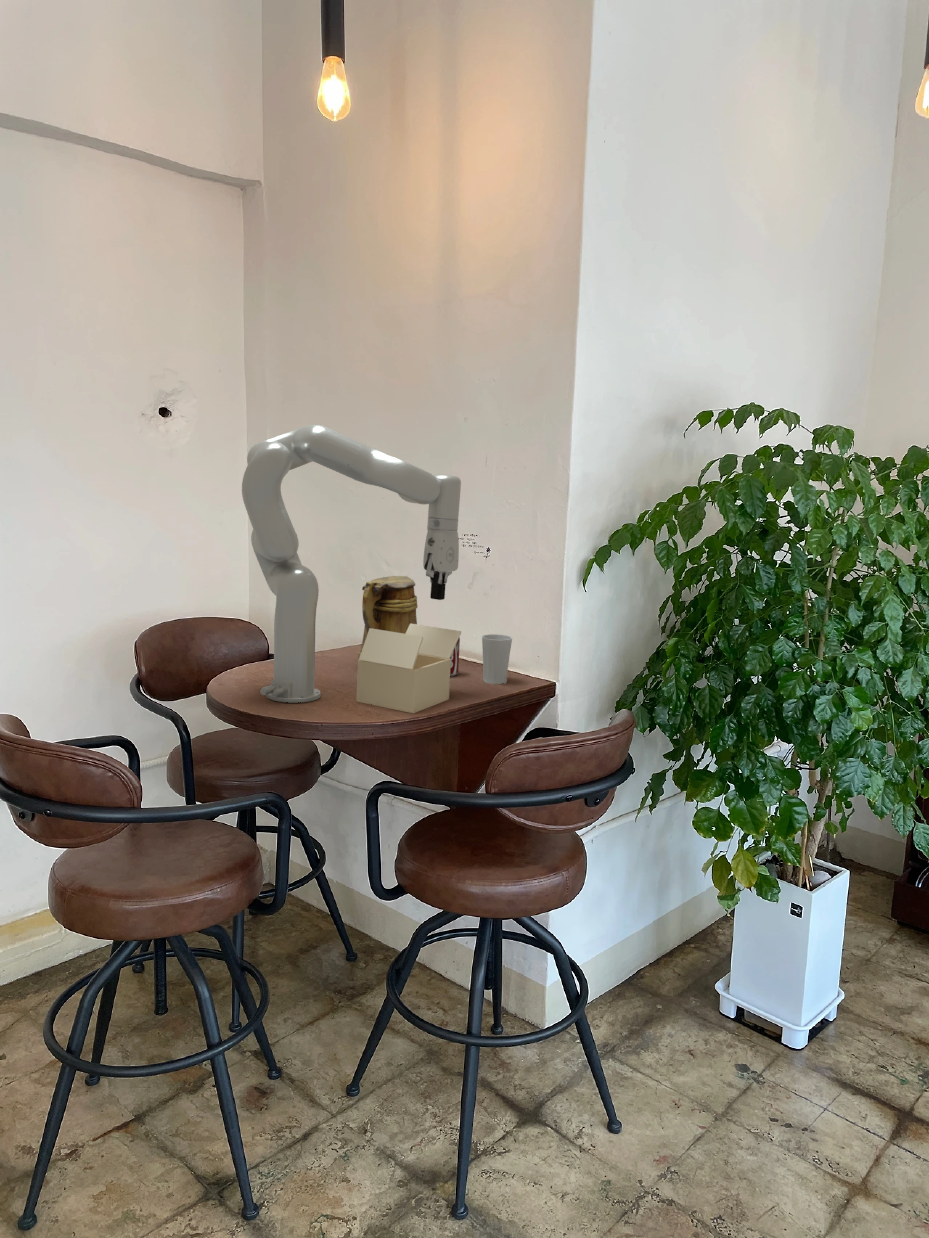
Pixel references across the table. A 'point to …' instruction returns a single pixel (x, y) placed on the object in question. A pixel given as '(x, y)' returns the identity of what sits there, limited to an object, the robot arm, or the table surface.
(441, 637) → the back flap
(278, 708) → the table surface
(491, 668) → the cup
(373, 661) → the front flap
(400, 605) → the tankard
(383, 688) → the carton
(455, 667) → the soda can
